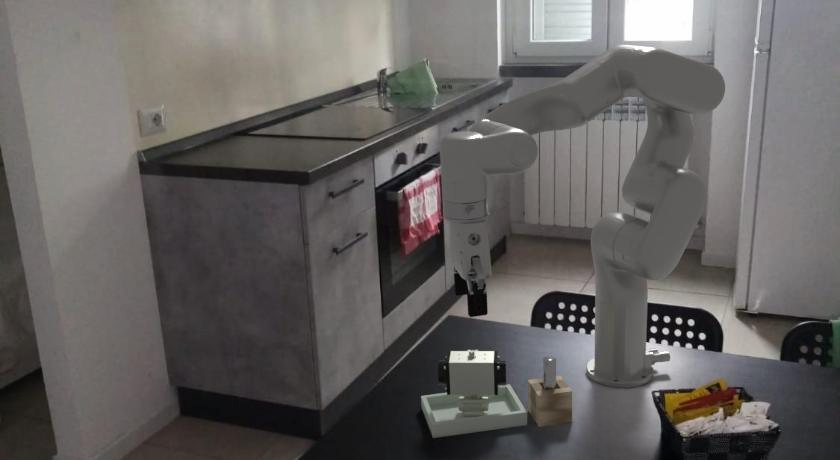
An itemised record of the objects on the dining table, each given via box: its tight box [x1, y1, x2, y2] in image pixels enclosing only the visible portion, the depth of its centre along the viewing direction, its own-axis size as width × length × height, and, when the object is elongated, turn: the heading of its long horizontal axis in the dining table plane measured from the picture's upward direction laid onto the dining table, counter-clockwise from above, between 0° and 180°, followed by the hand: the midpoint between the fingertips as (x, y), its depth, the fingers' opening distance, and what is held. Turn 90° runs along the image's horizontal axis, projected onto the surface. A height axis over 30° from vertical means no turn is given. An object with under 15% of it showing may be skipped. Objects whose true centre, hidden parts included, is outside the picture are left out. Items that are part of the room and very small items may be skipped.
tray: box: [420, 383, 528, 439], centre depth 153 cm, size 17×11×2 cm, turn 100°
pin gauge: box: [542, 356, 557, 391], centre depth 150 cm, size 2×2×11 cm
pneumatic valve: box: [437, 349, 507, 417], centre depth 152 cm, size 6×12×12 cm, turn 84°
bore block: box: [527, 375, 573, 428], centre depth 151 cm, size 6×6×6 cm
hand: (470, 304), depth 147 cm, fingers open, 9 cm apart
